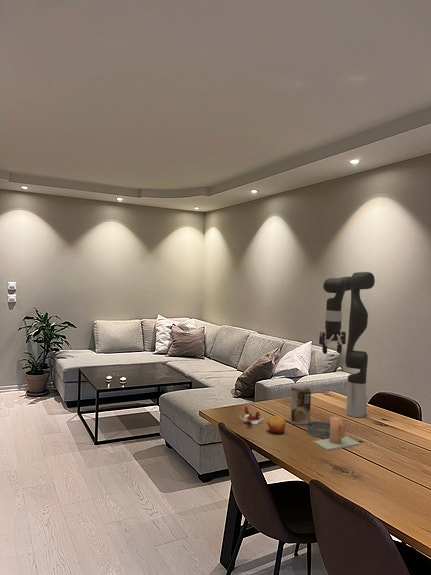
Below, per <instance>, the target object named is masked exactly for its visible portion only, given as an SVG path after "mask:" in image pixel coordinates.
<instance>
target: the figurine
mask: <svg viewBox="0 0 431 575" xmlns="http://www.w3.org/2000/svg"><path fill="white" fill-rule="evenodd" d="M244 414H245V415H244V417H243V416H242V415H241V414H239V418H240V419H241V421H242V422H245V423H247V422H249V423H251V424H252V425H258V424H259V423H260V422H261V421H262V420H264V417H263V416H261V417H260V415H261V413H260V411H256V413H255V415H254V416H253V415H252V414H254V412H252V413H250V412H249V405H246V406H244Z"/></svg>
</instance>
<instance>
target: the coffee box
mask: <svg viewBox="0 0 431 575" xmlns="http://www.w3.org/2000/svg"><path fill="white" fill-rule="evenodd" d="M290 389H291V390H290V393H291V394H290V418H289V420H290V424H292V425H305V426H307V423H309V422H311V400H312V398H311V397H312V391H311V390H310V388H309V387H308V388H307V387H291V388H290Z"/></svg>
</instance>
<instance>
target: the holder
mask: <svg viewBox="0 0 431 575" xmlns="http://www.w3.org/2000/svg"><path fill="white" fill-rule="evenodd" d="M305 426H306V427H305V428H306V433H307V434H308V435H310V436H312V437H316V438H321V439H322V438H323V439H330V422H326V421H322V420H321V421H318V420H317V421H316V420H313V421H310V422H309V423H307V425H305ZM321 429H322V430H321Z"/></svg>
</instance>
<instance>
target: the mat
mask: <svg viewBox="0 0 431 575" xmlns="http://www.w3.org/2000/svg"><path fill="white" fill-rule="evenodd" d="M329 440H330V438H323V439H317V440H313V441H312V442H313V444H315V445H317V446H318V447H320V448H322V449H323V450H325V451H331V450H337V449H344V448H350V447H355V446H360V445H362V443H361V442H359V441H357V440H355V439H353V438H351V437H349V436H347V435H345V437H344V438H342V442H341V443H339V444H336V443H332V442H330V441H329Z"/></svg>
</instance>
